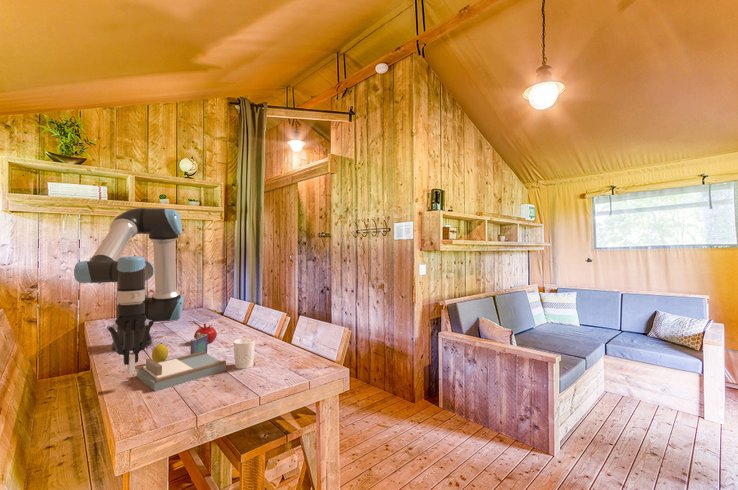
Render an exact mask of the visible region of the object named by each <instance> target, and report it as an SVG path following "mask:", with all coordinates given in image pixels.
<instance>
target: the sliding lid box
mask: <svg viewBox="0 0 738 490" xmlns="http://www.w3.org/2000/svg"><path fill="white" fill-rule="evenodd" d="M173 359H178V360H179V361H181V362H183V363H184V364H186V365H188V366H190V367H191V368H193V369H191V370H188V371H184V372H180V373H177V374H173V375H169V376H166V377H162V378H158V379H156V378H155V377H153V376H152V375H151V374H149V373H148V372H147V371H145V370H144V369H143V367H144V366H146V364H145V365H144V364H143V365H141V366H140V365H139V366H138V369H136V378H138V379H139V380H140V381H142V382H143V384H145V385H146V386H147V387H149V388H150V389H151V390H152V391H154V392H157V391H161V390H163V389H167V388H171V387H173V386H178V385H181V384H184V383H185V384H186V383H187V382H191V381H194V380H198V379H201V378H203V377H204V378H205V377H208V376H211V375H215V374H218V373H222V372H224V371H226V370H227V361H226V360H224V359H223V360H219V359H217V358H215V357H214V356H211V355H209V354H208V353H207V354H206V351H203V352H199V353H194V354H191V353H190V354H186V355H181V356H179V357H174V358H169V359H166V360H165V361H169V360H173ZM165 361H161V362H165ZM161 362H157V363H161Z"/></svg>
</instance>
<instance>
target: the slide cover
mask: <svg viewBox="0 0 738 490" xmlns="http://www.w3.org/2000/svg"><path fill="white" fill-rule="evenodd" d="M172 359H173V358H172ZM168 360H169V359H168ZM145 365H146V366H144V365H143V366H144V367H143V369H144V370H145V371H147V372H148V373H149V374H151V375H152V376H153V377H155V378H156V379H158V378H162V377H166V376H169V375H173V374H177V373H180V372H184V371H188V370H191V369H193V368H191V367H190V366H188V365H186V364H184V363H183V362H181V361H179V360H178V359H173V360H169V361H165V362H161V363H157V362H155V361H154V360H153V359H152V357H150V358H147V359H145Z"/></svg>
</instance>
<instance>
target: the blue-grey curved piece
mask: <svg viewBox="0 0 738 490" xmlns="http://www.w3.org/2000/svg"><path fill="white" fill-rule="evenodd" d="M196 334H197V333H196ZM200 334H201V333H198V334H197V337H195V338H194V337H193V338H191V339H190V354H194V353H199V352H203V351H206V354H207V355H208V343H207V341H208V335H207V334H202V335H200Z"/></svg>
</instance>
